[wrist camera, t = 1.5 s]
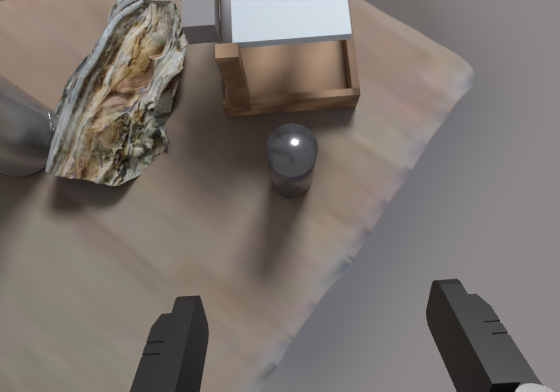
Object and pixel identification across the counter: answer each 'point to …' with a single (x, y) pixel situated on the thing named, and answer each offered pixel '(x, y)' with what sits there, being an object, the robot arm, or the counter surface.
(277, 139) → the cylinder
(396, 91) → the counter surface
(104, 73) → the rock
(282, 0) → the trapdoor
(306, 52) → the stand
